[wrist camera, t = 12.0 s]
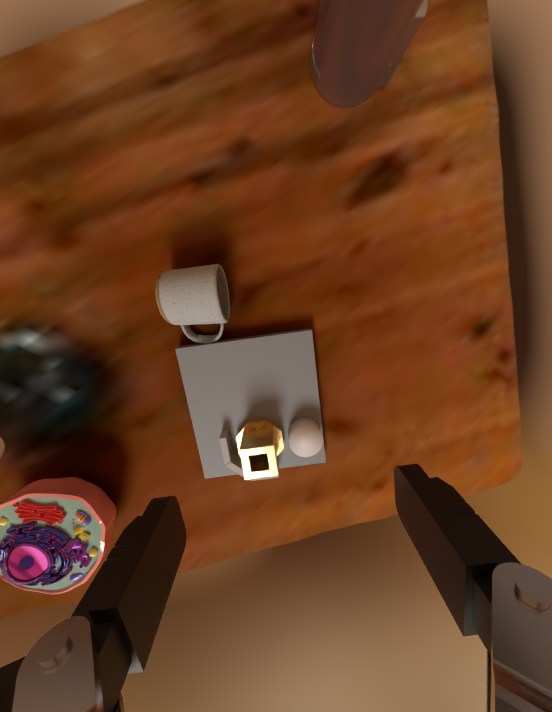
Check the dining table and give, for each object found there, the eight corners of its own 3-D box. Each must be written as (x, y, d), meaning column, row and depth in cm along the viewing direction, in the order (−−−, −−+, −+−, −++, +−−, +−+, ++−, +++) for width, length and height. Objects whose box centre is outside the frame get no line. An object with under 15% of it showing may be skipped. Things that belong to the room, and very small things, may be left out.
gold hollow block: (279, 414, 42) (281, 436, 36) (284, 454, 44) (287, 481, 38) (234, 420, 43) (229, 443, 36) (242, 459, 44) (237, 488, 38)
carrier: (309, 328, 41) (316, 333, 36) (323, 455, 47) (330, 476, 41) (179, 346, 42) (166, 354, 36) (207, 470, 47) (199, 494, 41)
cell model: (156, 503, 48) (124, 566, 37) (79, 561, 51) (26, 636, 40) (83, 436, 45) (23, 484, 34) (3, 502, 47) (-77, 567, 36)
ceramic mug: (168, 272, 39) (144, 269, 32) (225, 265, 39) (214, 261, 32) (183, 344, 42) (164, 357, 34) (236, 338, 42) (229, 350, 34)
